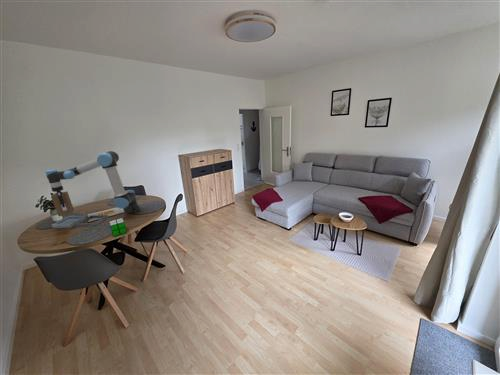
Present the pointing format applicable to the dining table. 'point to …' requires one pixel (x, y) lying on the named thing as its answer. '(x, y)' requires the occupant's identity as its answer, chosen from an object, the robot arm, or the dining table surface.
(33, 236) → the dining table surface
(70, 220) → the bin
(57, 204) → the wooden block
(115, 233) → the puzzle cube
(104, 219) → the collar
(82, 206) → the dining table surface
